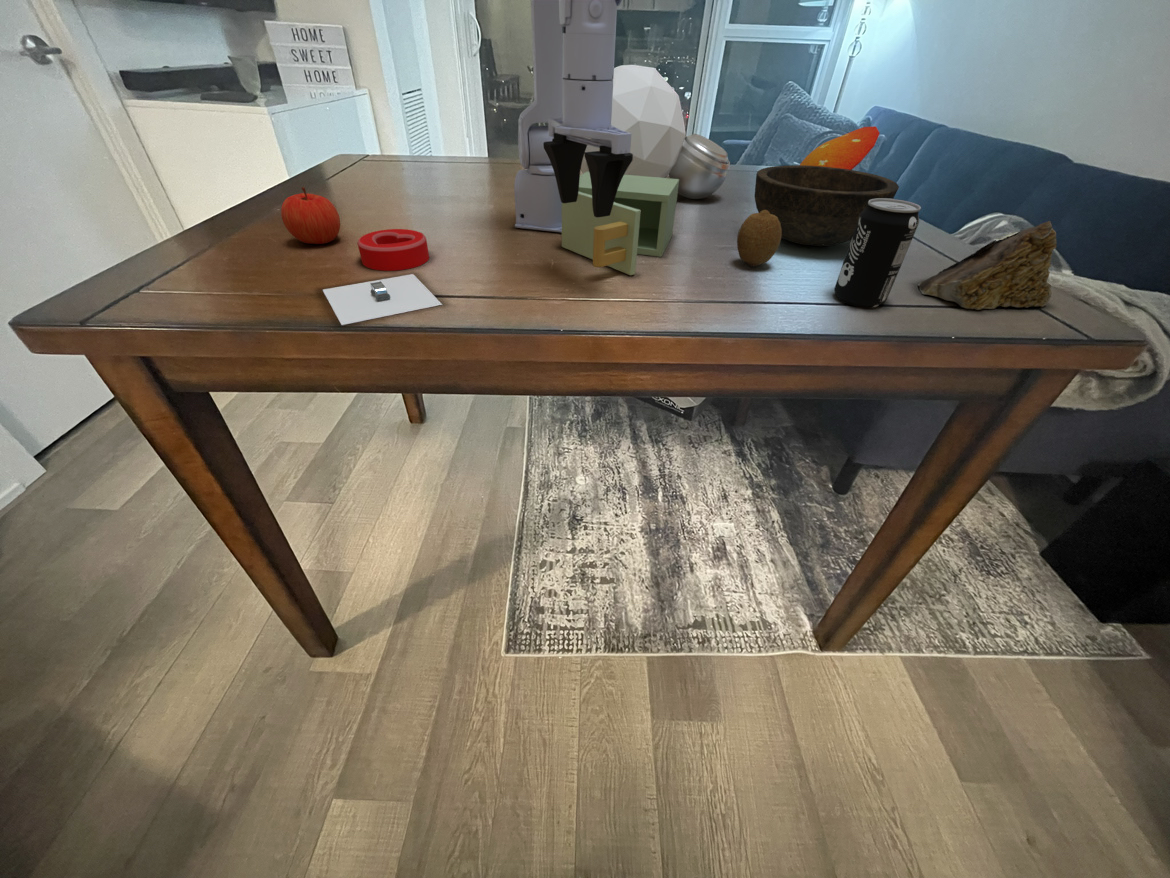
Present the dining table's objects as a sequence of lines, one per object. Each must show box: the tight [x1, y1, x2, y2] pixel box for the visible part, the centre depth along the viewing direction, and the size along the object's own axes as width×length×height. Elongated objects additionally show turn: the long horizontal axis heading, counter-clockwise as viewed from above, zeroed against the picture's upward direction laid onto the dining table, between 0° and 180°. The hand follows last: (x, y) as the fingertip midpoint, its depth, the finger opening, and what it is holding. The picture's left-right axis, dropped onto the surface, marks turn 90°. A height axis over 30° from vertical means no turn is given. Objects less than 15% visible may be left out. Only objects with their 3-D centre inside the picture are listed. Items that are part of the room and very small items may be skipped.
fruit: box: [736, 210, 782, 267], centre depth 75 cm, size 6×6×8 cm
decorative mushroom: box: [799, 126, 880, 170], centre depth 102 cm, size 15×21×15 cm
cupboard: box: [579, 172, 679, 258], centre depth 82 cm, size 12×16×9 cm
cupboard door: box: [561, 191, 641, 276], centre depth 73 cm, size 6×16×9 cm, turn 40°
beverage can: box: [833, 198, 922, 309], centre depth 64 cm, size 7×7×12 cm
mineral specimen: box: [917, 220, 1058, 311], centre depth 69 cm, size 12×13×15 cm
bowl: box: [753, 164, 900, 247], centre depth 84 cm, size 22×22×10 cm
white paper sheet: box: [322, 273, 443, 326], centre depth 64 cm, size 12×12×2 cm
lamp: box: [580, 64, 731, 200], centre depth 104 cm, size 23×35×24 cm, turn 86°
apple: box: [280, 186, 341, 245], centre depth 78 cm, size 8×8×8 cm
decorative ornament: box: [357, 228, 430, 272], centre depth 74 cm, size 10×10×3 cm
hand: (584, 208), depth 64 cm, fingers open, 7 cm apart
